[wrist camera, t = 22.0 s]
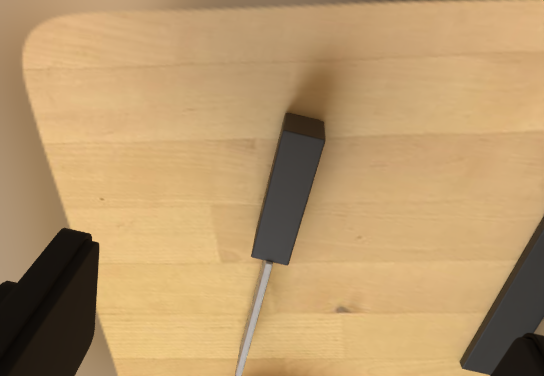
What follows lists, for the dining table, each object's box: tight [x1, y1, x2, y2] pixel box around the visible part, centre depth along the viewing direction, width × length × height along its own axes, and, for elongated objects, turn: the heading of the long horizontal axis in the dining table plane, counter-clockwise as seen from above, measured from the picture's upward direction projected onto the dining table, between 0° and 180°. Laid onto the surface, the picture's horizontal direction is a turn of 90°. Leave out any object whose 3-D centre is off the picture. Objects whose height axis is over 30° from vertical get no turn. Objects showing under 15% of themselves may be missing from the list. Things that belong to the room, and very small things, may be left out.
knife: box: [235, 113, 325, 376], centre depth 29 cm, size 18×2×3 cm, turn 167°
